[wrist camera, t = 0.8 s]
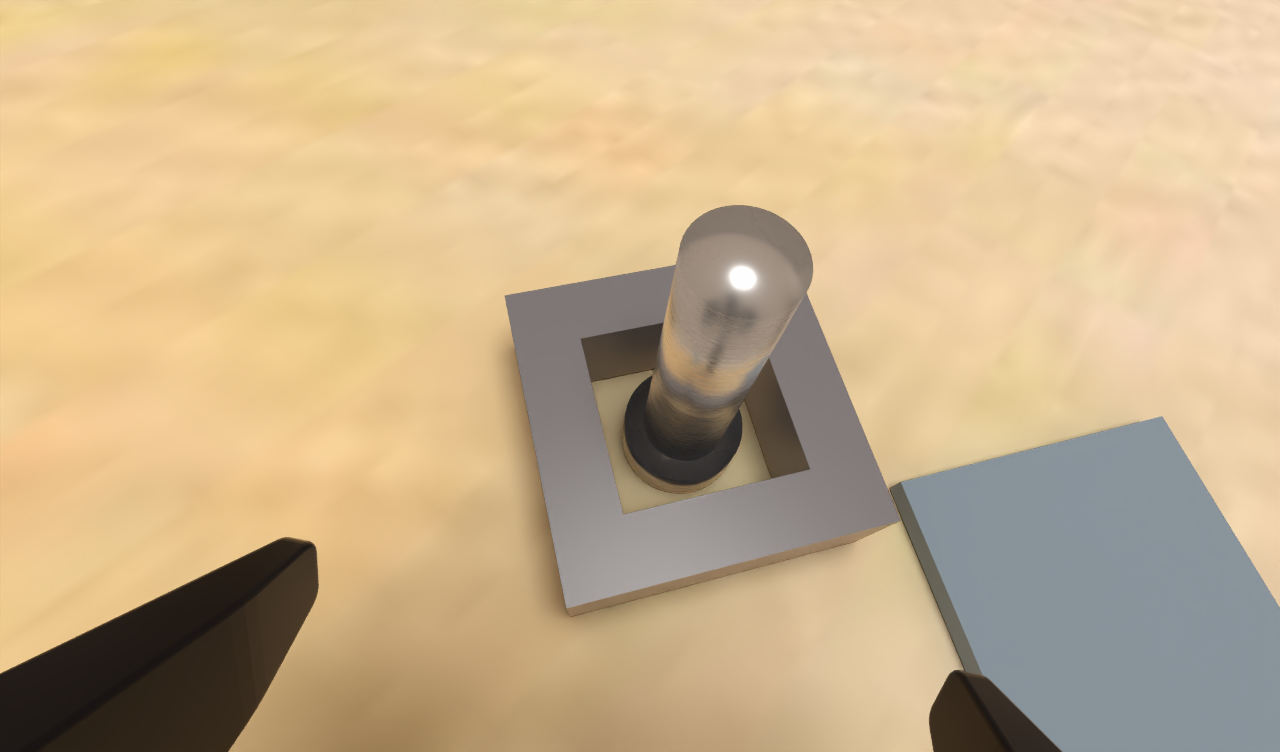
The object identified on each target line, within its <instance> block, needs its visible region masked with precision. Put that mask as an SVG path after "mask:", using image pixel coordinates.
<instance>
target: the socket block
mask: <svg viewBox="0 0 1280 752" xmlns="http://www.w3.org/2000/svg"><path fill="white" fill-rule="evenodd" d="M675 267H676V265H673V266H668V267H662V268H657V269H651V270H645V271H640V272H634V273H629V274H623V275H617V276H612V277H606V278H601V279H595V280H589V281H584V282H578V283H573V284H567V285H561V286H556V287H550V288H544V289H539V290H533V291H528V292H522V293H516V294H511V295H505V300H506V305H507V310H508V315H509V320H510V325H511V330H512V335H513V340H514V345H515V351H516V356H517V361H518V366H519V371H520V376H521V381H522V386H523V391H524V396H525V401H526V406H527V412H528V417H529V422H530V427H531V432H532V437H533V442H534V447H535V452H536V457H537V462H538V467H539V472H540V478H541V483H542V488H543V493H544V498H545V503H546V508H547V513H548V518H549V523H550V528H551V533H552V539H553V544H554V549H555V554H556V559H557V564H558V569H559V574H560V579H561V584H562V589H563V594H564V600H565V605H566V609H567V611H568V613H569V615H570V617H572V616H576V615H580V614H584V613H587V612H591V611H595V610H599V609H603V608H606V607H610V606H614V605H618V604H621V603H625V602H629V601H633V600H637V599H640V598H644V597H648V596H652V595H655V594H659V593H663V592H667V591H671V590H674V589H678V588H682V587H686V586H689V585H693V584H697V583H701V582H704V581H708V580H712V579H716V578H720V577H723V576H727V575H731V574H735V573H738V572H742V571H746V570H750V569H754V568H757V567H761V566H765V565H769V564H772V563H776V562H780V561H784V560H788V559H791V558H795V557H799V556H803V555H806V554H810V553H814V552H818V551H822V550H825V549H829V548H833V547H837V546H840V545H844V544H848V543H852V542H855V541H857V540H859V539H862V538H864V537H866V536H868V535H870V534H873V533H875V532H877V531H879V530H881V529H884V528H886V527H888V526H890V525H892V524H895V523H897V522H899V521H901V520H900V518H899V516H898V513H897V511H896V508H895V506H894V503H893V501H892V499H891V496H890V494H889V491H888V489H887V487H886V484H885V482H884V479H883V477H882V474H881V472H880V470H879V467H878V465H877V462H876V460H875V458H874V455H873V453H872V450H871V448H870V445H869V443H868V441H867V438H866V436H865V433H864V431H863V429H862V426H861V424H860V421H859V419H858V416H857V414H856V412H855V409H854V407H853V404H852V402H851V400H850V397H849V395H848V392H847V390H846V387H845V385H844V383H843V380H842V378H841V375H840V373H839V371H838V368H837V366H836V363H835V361H834V358H833V356H832V354H831V351H830V349H829V346H828V344H827V342H826V339H825V337H824V334H823V332H822V329H821V327H820V325H819V322H818V320H817V317H816V315H815V312H814V310H813V308H812V305H811V303H810V300H809V298H808V296H807V293H806V294H805V296H804V297H803V299H802V301H801V303H800V304H799V306H798V308H797V310H796V311H795V313H794V315H793V316H792V318H791V320H790V322H789V323H788V325H787V327H786V328H785V330H784V332H783V334H782V335H781V337H780V339H779V341H778V342H777V344H776V346H775V347H774V349H773V351H772V353H771V354H770V356H769V358H768V359H767V361H766V363H765V365H764V366H763V368H762V370H761V372H760V373H759V375H758V377H757V378H756V380H755V382H754V384H753V385H752V387H751V389H750V390H749V392H748V394H747V396H746V397H745V402H746V405H747V408H748V411H749V414H750V417H751V420H752V423H753V426H754V428H755V431H756V434H757V437H758V440H759V443H760V446H761V449H762V452H763V455H764V458H765V461H766V463H767V466H768V469H769V472H770V475H771V478H772V479H768V480H764V481H760V482H756V483H752V484H748V485H744V486H739V487H735V488H731V489H727V490H723V491H719V492H715V493H710V494H706V495H702V496H698V497H694V498H690V499H686V500H681V501H677V502H673V503H669V504H665V505H661V506H657V507H652V508H648V509H644V510H640V511H636V512H632V513H628V514H623V511H622V507H621V503H620V499H619V495H618V491H617V487H616V483H615V479H614V475H613V470H612V466H611V462H610V458H609V454H608V450H607V446H606V442H605V438H604V433H603V429H602V425H601V421H600V417H599V413H598V409H597V405H596V401H595V397H594V392H593V388H592V384H591V382H592V381H597V380H602V379H607V378H612V377H617V376H622V375H627V374H631V373H636V372H641V371H646V370H651V369H654V367H655V362H656V357H657V352H658V348H659V343H660V338H661V333H662V329H663V324H664V319H665V314H666V310H667V305H668V300H669V296H670V291H671V286H672V281H673V277H674V272H675Z"/></svg>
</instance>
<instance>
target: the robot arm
mask: <svg viewBox="0 0 1280 752" xmlns="http://www.w3.org/2000/svg"><path fill="white" fill-rule="evenodd" d="M318 586H319V583H318V566H317V551H316V547H315V545H314V544H313V543H312V542H310V541H305V540H300V539H295V538H290V537H284V538H281V539H278V540H276V541H274V542H272V543H270V544H268V545H266V546H263V547H261V548H259V549H257V550H255V551H253V552H251V553H249V554H247V555H245V556H243V557H241V558H239V559H237V560H234V561H232V562H230V563H228V564H226V565H224V566H222V567H220V568H218V569H216V570H214V571H212V572H210V573H208V574H205V575H203V576H201V577H199V578H197V579H195V580H193V581H191V582H189V583H187V584H185V585H183V586H181V587H178V588H176V589H174V590H172V591H170V592H168V593H166V594H164V595H162V596H160V597H158V598H156V599H154V600H152V601H149V602H147V603H145V604H143V605H141V606H139V607H137V608H135V609H133V610H131V611H129V612H127V613H125V614H123V615H120V616H118V617H116V618H114V619H112V620H110V621H108V622H106V623H104V624H102V625H100V626H98V627H96V628H94V629H91V630H89V631H87V632H85V633H83V634H81V635H79V636H77V637H75V638H73V639H71V640H69V641H67V642H65V643H62V644H60V645H58V646H56V647H54V648H52V649H50V650H48V651H46V652H44V653H42V654H40V655H38V656H36V657H33V658H31V659H29V660H27V661H25V662H23V663H21V664H19V665H17V666H15V667H13V668H11V669H9V670H7V671H4V672H2V673H0V752H228V751H229V750H230V748H231V747H232V745H233V744H234V742H235V741H236V739H237V738H238V736H239V735H240V733H241V732H242V730H243V729H244V727H245V726H246V724H247V723H248V721H249V720H250V718H251V717H252V715H253V714H254V712H255V710H256V709H257V707H258V705H259V704H260V702H261V700H262V698H263V697H264V695H265V693H266V691H267V690H268V688H269V686H270V684H271V682H272V680H273V679H274V677H275V675H276V673H277V671H278V669H279V667H280V666H281V664H282V662H283V660H284V658H285V656H286V654H287V653H288V651H289V649H290V647H291V645H292V643H293V641H294V640H295V638H296V636H297V634H298V632H299V630H300V628H301V627H302V625H303V623H304V621H305V619H306V617H307V615H308V614H309V612H310V610H311V608H312V606H313V604H314V602H315V600H316V597H317V593H318ZM929 727H930V733H931V739H932V745H933V751H934V752H1062V751H1061V750H1060V749H1059V748H1058V747H1057V746H1056V745H1055V744H1054V743H1053V742H1052V741H1051V740H1050V739H1049V738H1048V737H1047V736H1046V735H1045V734H1044V733H1043V732H1042V731H1041V730H1040V729H1039V728H1038V727H1037V726H1036V725H1035V724H1034V723H1033V722H1032V721H1031V720H1030V719H1029V718H1028V717H1027V716H1026V715H1025V714H1024V713H1023V712H1022V711H1021V710H1020V709H1019V708H1018V707H1017V706H1016V705H1015V704H1014V703H1013V702H1012V701H1011V700H1010V699H1009V698H1008V697H1007V696H1006V695H1005V694H1004V693H1003V692H1002V691H1001V690H1000V689H999V688H998V687H997V686H996V685H995V684H994V683H993V682H992V681H991V680H990V679H988V678H987V677H986V676H984V675H981V674H977V673H972V672H967V671H962V670H954V671H953V672H951V673H950V674H949V676H948V677H947V679H946V681H945V683H944V685H943V687H942V688H941V690H940V692H939V694H938V696H937V698H936V700H935V702H934V703H933V705H932V708H931V711H930V715H929Z"/></svg>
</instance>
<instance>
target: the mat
mask: <svg viewBox="0 0 1280 752" xmlns="http://www.w3.org/2000/svg"><path fill="white" fill-rule="evenodd" d="M890 491H891V493H892V495H893V498H894V500H895V503H896V505H897V507H898V510H899V512H900V515H901V517H902V520H903V522H904V524H905V527H906V529H907V532H908V534H909V536H910V539H911V541H912V544H913V546H914V548H915V551H916V553H917V556H918V558H919V560H920V563H921V565H922V568H923V570H924V573H925V575H926V577H927V580H928V582H929V585H930V587H931V589H932V592H933V594H934V597H935V599H936V601H937V604H938V606H939V609H940V611H941V613H942V616H943V618H944V621H945V623H946V625H947V628H948V630H949V633H950V635H951V638H952V640H953V642H954V645H955V647H956V650H957V652H958V654H959V657H960V659H961V662H962V664H963V666H964V669H965V671H967V672H972V673H977V674H981V675H984V676H986V677H987V678H988V679H990V680H991V681H992V682H993V683H994V684H995V685H996V686H997V687H998V688H999V689H1000V690H1001V691H1002V692H1003V693H1004V694H1005V695H1006V696H1007V697H1008V698H1009V699H1010V700H1011V701H1012V702H1013V703H1014V704H1015V705H1016V706H1017V707H1018V708H1019V709H1020V710H1021V711H1022V712H1023V713H1024V714H1025V715H1026V716H1027V717H1028V718H1029V719H1030V720H1031V721H1032V722H1033V723H1034V724H1035V725H1036V726H1037V727H1038V728H1039V729H1040V730H1041V731H1042V732H1043V733H1044V734H1045V735H1046V736H1047V737H1048V738H1049V739H1050V740H1051V741H1052V742H1053V743H1054V744H1055V745H1056V746H1057V747H1058V748H1059V749H1060V750H1061V751H1062V752H1280V607H1279V606H1278V604H1277V602H1276V601H1275V599H1274V598H1273V596H1272V594H1271V593H1270V591H1269V589H1268V588H1267V586H1266V585H1265V583H1264V581H1263V580H1262V578H1261V576H1260V575H1259V573H1258V571H1257V570H1256V568H1255V567H1254V565H1253V563H1252V562H1251V560H1250V558H1249V557H1248V555H1247V554H1246V552H1245V550H1244V549H1243V547H1242V545H1241V544H1240V542H1239V541H1238V539H1237V537H1236V536H1235V534H1234V532H1233V531H1232V529H1231V528H1230V526H1229V524H1228V523H1227V521H1226V519H1225V518H1224V516H1223V515H1222V513H1221V511H1220V510H1219V508H1218V506H1217V505H1216V503H1215V502H1214V500H1213V498H1212V497H1211V495H1210V493H1209V492H1208V490H1207V488H1206V487H1205V485H1204V484H1203V482H1202V480H1201V479H1200V477H1199V475H1198V474H1197V472H1196V471H1195V469H1194V467H1193V466H1192V464H1191V462H1190V461H1189V459H1188V458H1187V456H1186V454H1185V453H1184V451H1183V449H1182V448H1181V446H1180V445H1179V443H1178V441H1177V440H1176V438H1175V436H1174V435H1173V433H1172V432H1171V430H1170V428H1169V427H1168V425H1167V423H1166V422H1165V420H1164V419H1163V417H1158V418H1154V419H1150V420H1146V421H1142V422H1138V423H1134V424H1130V425H1126V426H1122V427H1118V428H1114V429H1110V430H1106V431H1102V432H1098V433H1094V434H1090V435H1086V436H1082V437H1078V438H1074V439H1070V440H1066V441H1062V442H1058V443H1054V444H1050V445H1046V446H1042V447H1038V448H1034V449H1030V450H1026V451H1022V452H1018V453H1014V454H1010V455H1006V456H1003V457H999V458H995V459H991V460H987V461H983V462H979V463H975V464H971V465H967V466H963V467H959V468H955V469H951V470H947V471H943V472H939V473H935V474H931V475H927V476H923V477H919V478H915V479H911V480H907V481H903V482H900V483H898V484H897V485H895V486H893V487H891V488H890Z"/></svg>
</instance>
